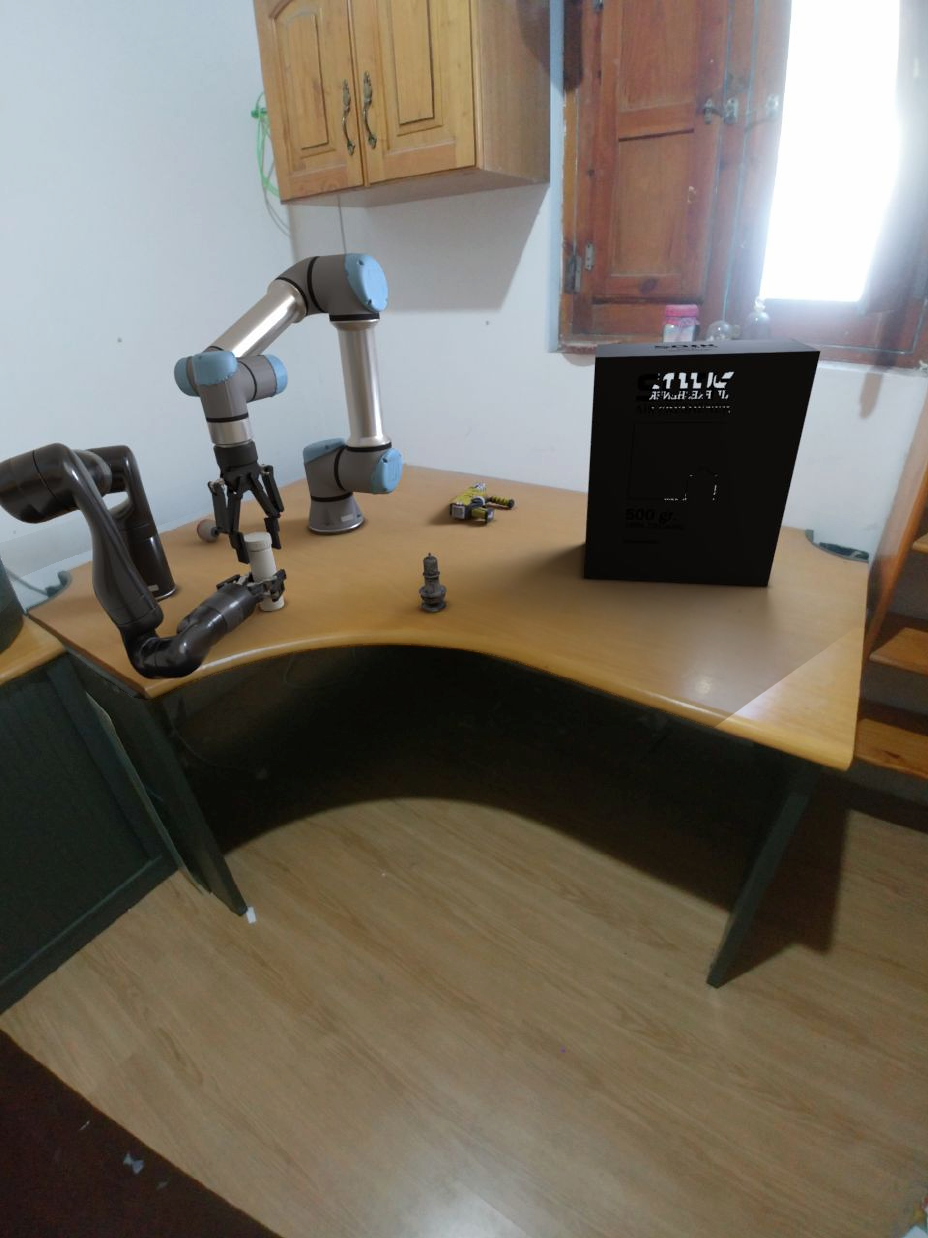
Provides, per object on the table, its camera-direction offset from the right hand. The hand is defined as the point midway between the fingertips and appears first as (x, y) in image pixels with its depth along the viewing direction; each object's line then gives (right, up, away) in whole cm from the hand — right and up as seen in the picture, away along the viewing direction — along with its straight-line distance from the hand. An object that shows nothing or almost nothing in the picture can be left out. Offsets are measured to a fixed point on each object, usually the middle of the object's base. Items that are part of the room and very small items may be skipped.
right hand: (260, 554), depth 124 cm
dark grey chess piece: (+36, -10, +2) cm, 37 cm away
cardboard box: (+89, 0, +14) cm, 90 cm away
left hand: (+1, -3, +5) cm, 6 cm away
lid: (0, +3, -2) cm, 4 cm away
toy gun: (+48, +18, +51) cm, 72 cm away
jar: (+1, -10, +6) cm, 12 cm away
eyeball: (-27, +8, +40) cm, 49 cm away
